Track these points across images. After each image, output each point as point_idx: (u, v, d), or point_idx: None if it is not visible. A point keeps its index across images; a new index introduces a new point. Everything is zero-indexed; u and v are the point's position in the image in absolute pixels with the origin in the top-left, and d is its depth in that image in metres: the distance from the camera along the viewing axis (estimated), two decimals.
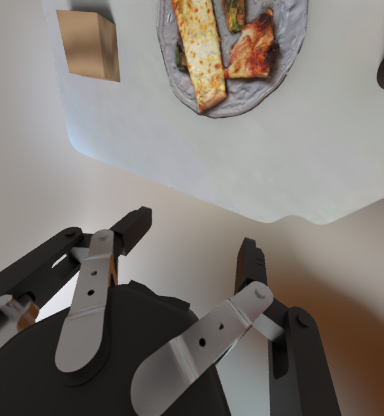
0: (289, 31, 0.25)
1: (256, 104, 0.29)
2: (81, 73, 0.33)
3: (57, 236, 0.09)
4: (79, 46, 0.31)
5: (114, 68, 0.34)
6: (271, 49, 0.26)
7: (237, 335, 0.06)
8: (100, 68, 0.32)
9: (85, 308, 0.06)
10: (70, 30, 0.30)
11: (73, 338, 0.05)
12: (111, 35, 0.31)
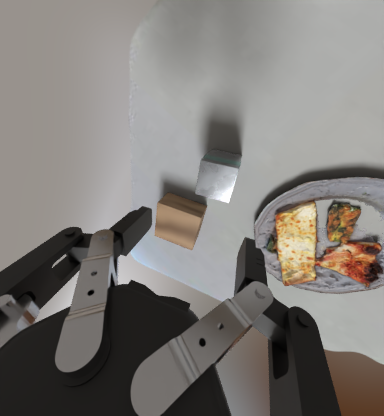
0: None
1: (346, 292, 0.31)
2: (167, 240, 0.35)
3: (57, 236, 0.09)
4: (172, 227, 0.32)
5: (198, 233, 0.35)
6: (372, 266, 0.27)
7: (237, 335, 0.06)
8: (190, 244, 0.33)
9: (85, 308, 0.06)
10: (167, 217, 0.31)
11: (73, 338, 0.05)
12: (203, 216, 0.33)
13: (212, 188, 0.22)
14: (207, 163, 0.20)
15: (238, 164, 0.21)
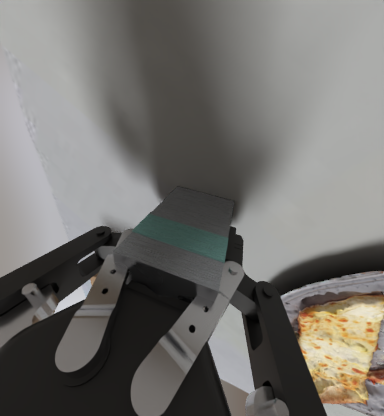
0: None
1: None
2: None
3: (89, 233, 0.10)
4: None
5: None
6: None
7: (221, 312, 0.06)
8: None
9: (95, 306, 0.06)
10: None
11: (73, 338, 0.05)
12: None
13: None
14: (131, 261, 0.07)
15: (221, 254, 0.08)
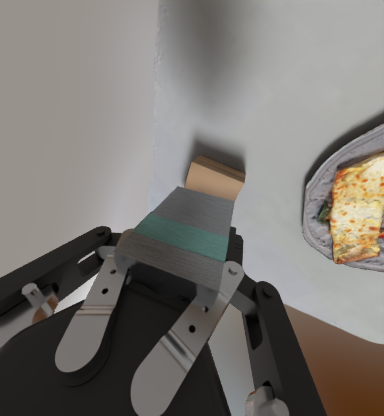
0: None
1: None
2: None
3: (89, 233, 0.10)
4: None
5: None
6: None
7: (221, 312, 0.06)
8: None
9: (95, 306, 0.06)
10: (200, 181, 0.26)
11: (73, 338, 0.05)
12: None
13: None
14: (132, 261, 0.07)
15: (221, 254, 0.08)
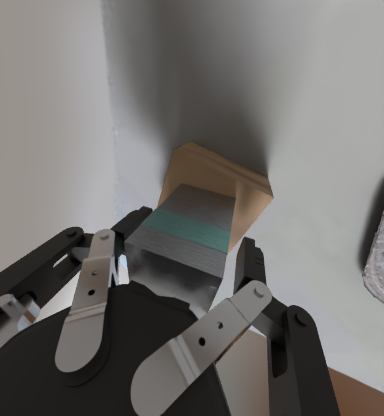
0: None
1: None
2: None
3: (58, 236, 0.09)
4: None
5: None
6: None
7: (236, 334, 0.06)
8: None
9: (85, 308, 0.06)
10: None
11: (73, 338, 0.05)
12: None
13: (163, 295, 0.09)
14: (142, 251, 0.08)
15: (224, 246, 0.08)
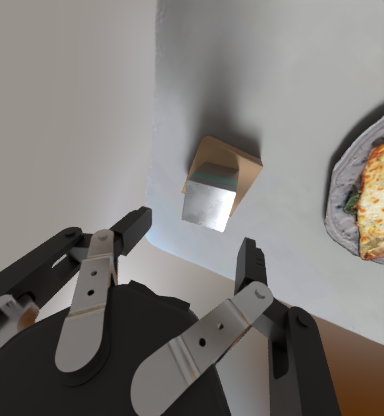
0: None
1: None
2: None
3: (57, 236, 0.09)
4: None
5: None
6: None
7: (237, 335, 0.06)
8: (231, 207, 0.25)
9: (85, 308, 0.06)
10: None
11: (73, 338, 0.05)
12: None
13: (202, 213, 0.17)
14: (196, 184, 0.16)
15: (235, 184, 0.17)
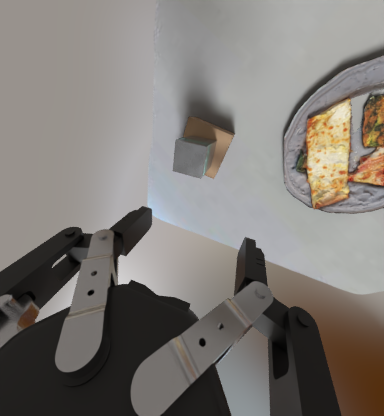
0: None
1: (382, 207, 0.30)
2: None
3: (57, 236, 0.09)
4: None
5: (219, 165, 0.35)
6: None
7: (237, 335, 0.06)
8: (213, 171, 0.33)
9: (85, 308, 0.06)
10: None
11: (73, 338, 0.05)
12: None
13: (186, 165, 0.25)
14: (181, 142, 0.24)
15: (208, 144, 0.25)
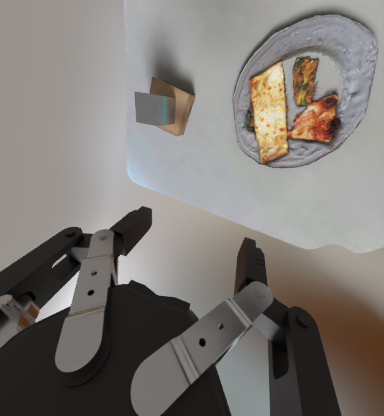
0: (350, 109, 0.30)
1: (314, 160, 0.35)
2: None
3: (57, 236, 0.09)
4: None
5: (184, 126, 0.40)
6: (333, 122, 0.31)
7: (237, 335, 0.06)
8: (176, 128, 0.38)
9: (85, 308, 0.06)
10: None
11: (73, 338, 0.05)
12: (190, 104, 0.37)
13: (146, 114, 0.31)
14: (139, 93, 0.29)
15: None
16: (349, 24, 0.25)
